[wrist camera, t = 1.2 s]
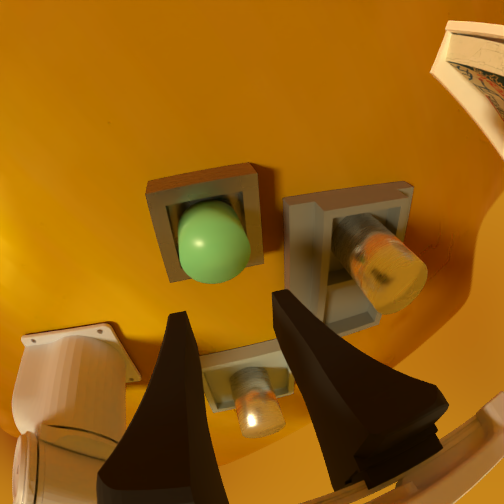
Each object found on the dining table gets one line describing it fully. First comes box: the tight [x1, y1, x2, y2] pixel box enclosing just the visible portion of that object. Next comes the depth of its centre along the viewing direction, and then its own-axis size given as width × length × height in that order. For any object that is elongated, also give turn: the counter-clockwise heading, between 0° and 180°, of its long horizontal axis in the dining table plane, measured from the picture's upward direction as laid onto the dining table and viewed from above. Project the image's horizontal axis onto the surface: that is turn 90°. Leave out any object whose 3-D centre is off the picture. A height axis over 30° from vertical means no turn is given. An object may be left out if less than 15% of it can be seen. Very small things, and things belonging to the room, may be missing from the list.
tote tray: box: [199, 339, 295, 413], centre depth 29 cm, size 9×9×1 cm
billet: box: [229, 367, 285, 438], centre depth 26 cm, size 4×4×6 cm
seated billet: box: [331, 212, 428, 314], centre depth 19 cm, size 4×4×6 cm
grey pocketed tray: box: [283, 181, 414, 337], centre depth 23 cm, size 10×13×3 cm
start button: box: [178, 200, 251, 284], centre depth 16 cm, size 4×4×3 cm
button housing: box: [145, 162, 264, 283], centre depth 18 cm, size 6×6×2 cm
